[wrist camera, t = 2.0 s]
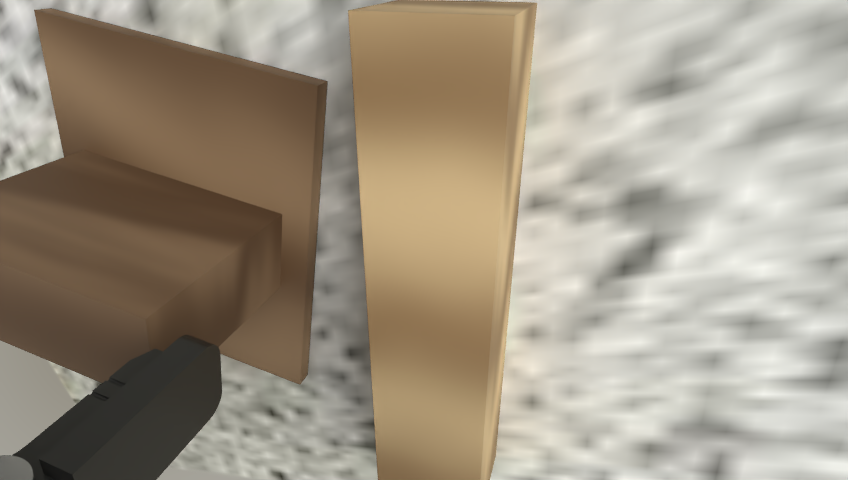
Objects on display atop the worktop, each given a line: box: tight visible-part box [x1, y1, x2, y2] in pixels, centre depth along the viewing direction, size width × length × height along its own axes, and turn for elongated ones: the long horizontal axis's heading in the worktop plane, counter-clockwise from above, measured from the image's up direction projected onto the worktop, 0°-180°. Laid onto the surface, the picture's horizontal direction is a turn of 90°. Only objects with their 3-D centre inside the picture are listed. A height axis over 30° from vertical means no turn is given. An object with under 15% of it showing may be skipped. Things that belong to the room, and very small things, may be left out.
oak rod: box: [348, 0, 537, 480], centre depth 16 cm, size 16×4×4 cm, turn 0°
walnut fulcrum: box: [0, 8, 327, 384], centre depth 17 cm, size 12×10×7 cm
